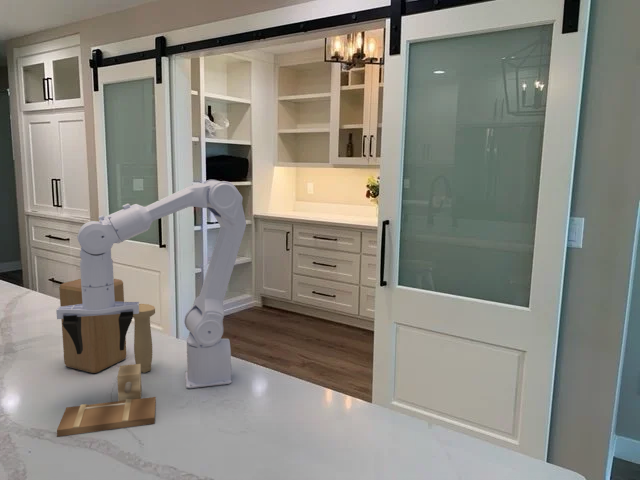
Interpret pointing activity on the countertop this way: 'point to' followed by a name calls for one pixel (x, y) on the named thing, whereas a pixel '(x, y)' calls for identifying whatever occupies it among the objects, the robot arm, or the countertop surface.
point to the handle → (143, 337)
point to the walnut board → (107, 416)
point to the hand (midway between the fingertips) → (101, 350)
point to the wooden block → (92, 332)
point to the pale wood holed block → (129, 382)
